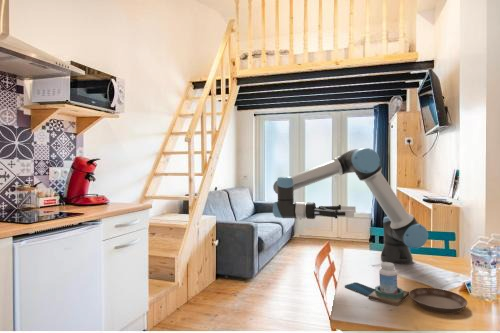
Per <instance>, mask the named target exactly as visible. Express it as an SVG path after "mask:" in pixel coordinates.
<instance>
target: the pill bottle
mask: <svg viewBox="0 0 500 333" xmlns="http://www.w3.org/2000/svg"><path fill="white" fill-rule="evenodd" d="M380 267H381V268H380V269H379V273H378V274H379V285H380V291H381V292H384V293H388V294H397V287H398V274H397V271H396V269H395V264H393V263H390V262H384V261H383V262H381V263H380Z"/></svg>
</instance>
